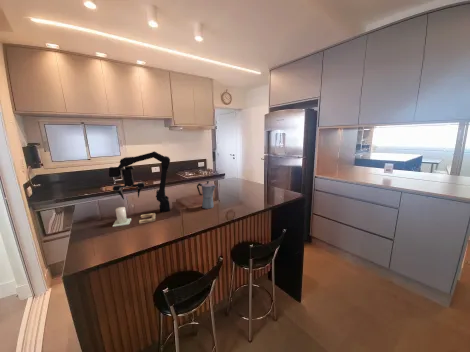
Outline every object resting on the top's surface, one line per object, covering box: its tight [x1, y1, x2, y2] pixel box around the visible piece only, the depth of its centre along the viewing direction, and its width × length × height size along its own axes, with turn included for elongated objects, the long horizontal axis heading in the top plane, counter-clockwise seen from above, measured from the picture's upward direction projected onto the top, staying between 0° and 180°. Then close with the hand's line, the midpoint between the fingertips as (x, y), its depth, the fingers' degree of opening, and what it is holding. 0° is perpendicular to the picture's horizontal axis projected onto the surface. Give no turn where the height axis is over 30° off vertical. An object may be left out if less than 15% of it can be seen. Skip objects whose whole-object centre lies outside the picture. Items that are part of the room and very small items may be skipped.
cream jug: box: [115, 206, 128, 224], centre depth 128 cm, size 8×5×9 cm
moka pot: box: [196, 180, 217, 210], centre depth 149 cm, size 10×15×20 cm, turn 78°
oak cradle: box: [138, 212, 156, 224], centre depth 132 cm, size 9×11×2 cm
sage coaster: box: [112, 217, 132, 228], centre depth 127 cm, size 9×9×1 cm
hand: (131, 198), depth 138 cm, fingers open, 9 cm apart
